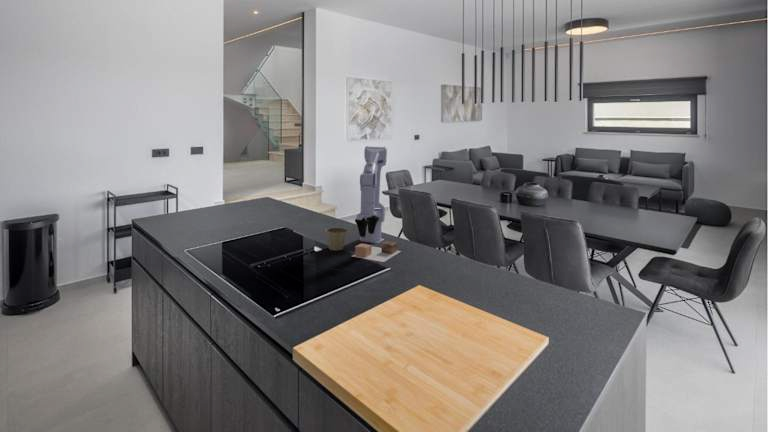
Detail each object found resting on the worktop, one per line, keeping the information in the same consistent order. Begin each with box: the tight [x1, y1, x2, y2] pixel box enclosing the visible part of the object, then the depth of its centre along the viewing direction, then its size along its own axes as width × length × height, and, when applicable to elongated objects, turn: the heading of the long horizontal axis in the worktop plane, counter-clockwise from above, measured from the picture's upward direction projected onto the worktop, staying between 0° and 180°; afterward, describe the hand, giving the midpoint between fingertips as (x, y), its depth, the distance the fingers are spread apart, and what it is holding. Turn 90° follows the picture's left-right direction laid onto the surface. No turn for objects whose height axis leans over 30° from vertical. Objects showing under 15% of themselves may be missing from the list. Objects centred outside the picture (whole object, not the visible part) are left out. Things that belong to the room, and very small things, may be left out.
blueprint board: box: [352, 245, 402, 263], centre depth 182 cm, size 15×17×1 cm
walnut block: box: [381, 240, 398, 254], centre depth 184 cm, size 5×5×4 cm
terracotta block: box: [354, 243, 373, 257], centre depth 179 cm, size 5×5×4 cm
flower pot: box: [324, 227, 348, 251], centre depth 187 cm, size 9×9×9 cm
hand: (366, 235), depth 178 cm, fingers open, 7 cm apart
